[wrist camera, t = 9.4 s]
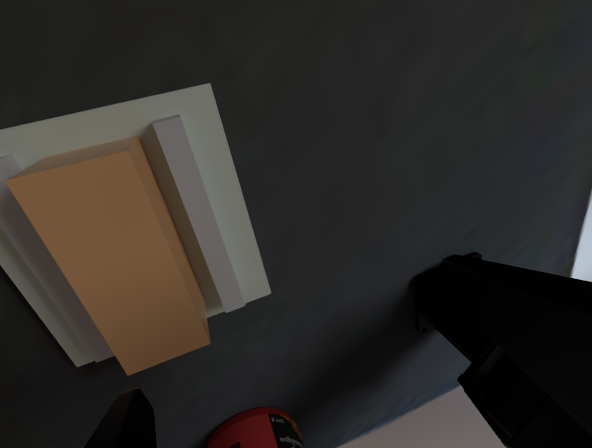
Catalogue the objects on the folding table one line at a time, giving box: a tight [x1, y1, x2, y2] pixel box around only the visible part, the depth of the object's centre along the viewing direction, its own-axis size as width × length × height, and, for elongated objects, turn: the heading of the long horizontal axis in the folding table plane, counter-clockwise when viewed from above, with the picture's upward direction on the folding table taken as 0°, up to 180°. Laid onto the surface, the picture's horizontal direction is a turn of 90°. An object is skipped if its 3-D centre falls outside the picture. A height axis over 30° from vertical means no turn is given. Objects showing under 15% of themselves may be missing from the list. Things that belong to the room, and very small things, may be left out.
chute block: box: [5, 135, 210, 376], centre depth 15 cm, size 10×4×4 cm, turn 11°
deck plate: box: [0, 83, 271, 367], centre depth 17 cm, size 13×12×2 cm
